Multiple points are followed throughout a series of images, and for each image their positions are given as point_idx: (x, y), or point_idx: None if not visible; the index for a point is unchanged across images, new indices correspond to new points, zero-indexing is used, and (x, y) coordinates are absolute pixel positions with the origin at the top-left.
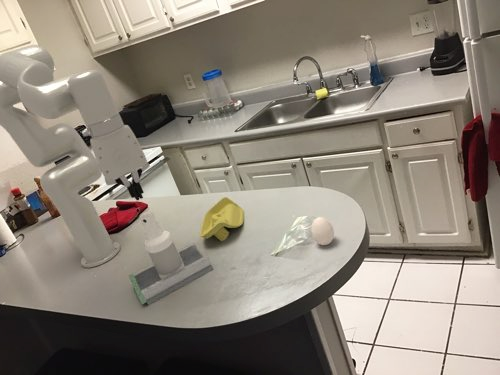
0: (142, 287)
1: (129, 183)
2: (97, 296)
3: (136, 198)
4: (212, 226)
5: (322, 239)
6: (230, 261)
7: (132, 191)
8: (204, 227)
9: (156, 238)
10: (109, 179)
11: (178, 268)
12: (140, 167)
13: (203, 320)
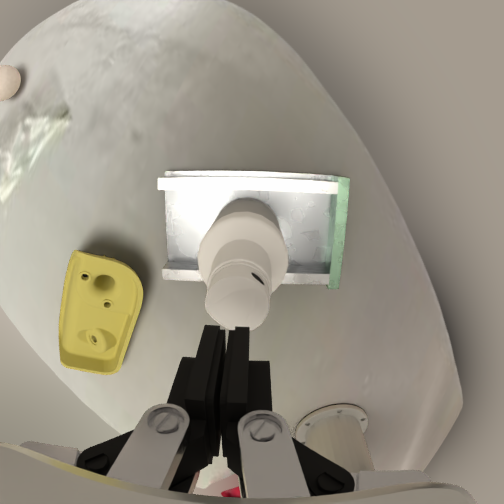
0: (322, 241)
1: (242, 427)
2: (392, 309)
3: (247, 333)
4: (109, 300)
5: (13, 67)
6: (129, 166)
7: (248, 384)
8: (128, 326)
9: (247, 238)
10: (458, 486)
11: (232, 203)
12: (33, 455)
13: (255, 33)
